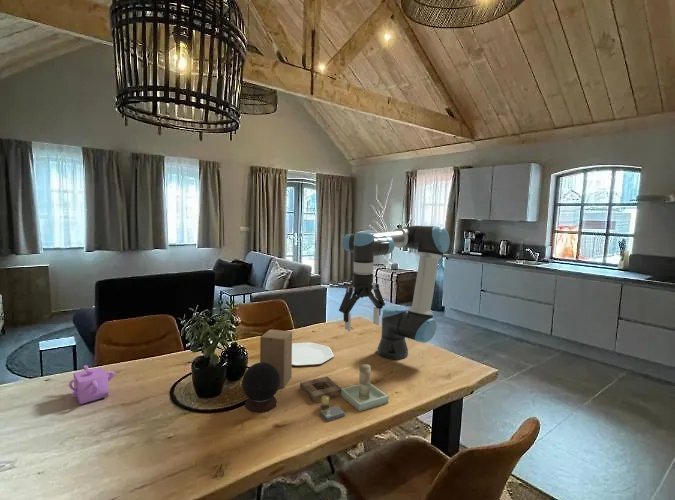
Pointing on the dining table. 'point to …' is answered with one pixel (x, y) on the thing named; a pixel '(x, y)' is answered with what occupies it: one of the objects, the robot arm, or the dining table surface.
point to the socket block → (312, 386)
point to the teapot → (90, 384)
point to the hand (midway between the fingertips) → (362, 326)
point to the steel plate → (332, 413)
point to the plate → (310, 354)
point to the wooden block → (278, 353)
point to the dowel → (364, 382)
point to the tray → (374, 400)
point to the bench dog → (325, 402)
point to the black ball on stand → (261, 387)
